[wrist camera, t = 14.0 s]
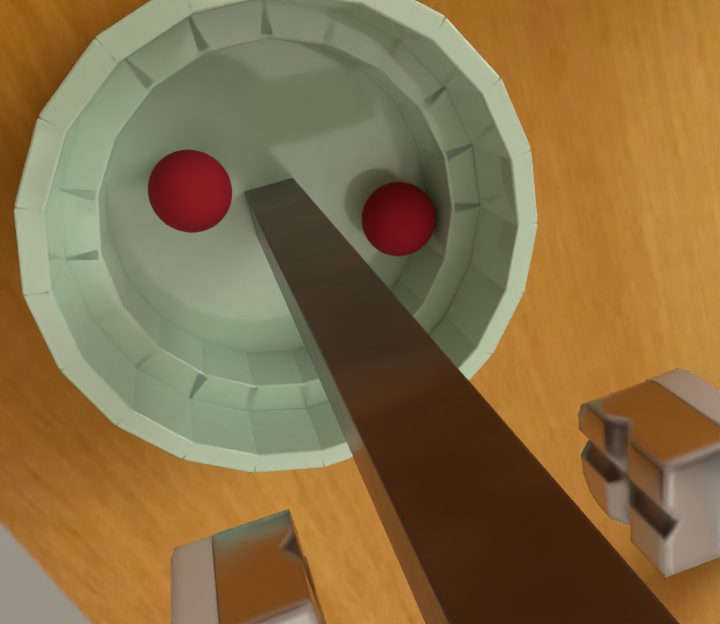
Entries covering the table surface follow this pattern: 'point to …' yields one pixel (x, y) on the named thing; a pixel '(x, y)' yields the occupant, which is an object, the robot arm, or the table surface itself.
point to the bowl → (236, 230)
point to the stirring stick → (438, 448)
